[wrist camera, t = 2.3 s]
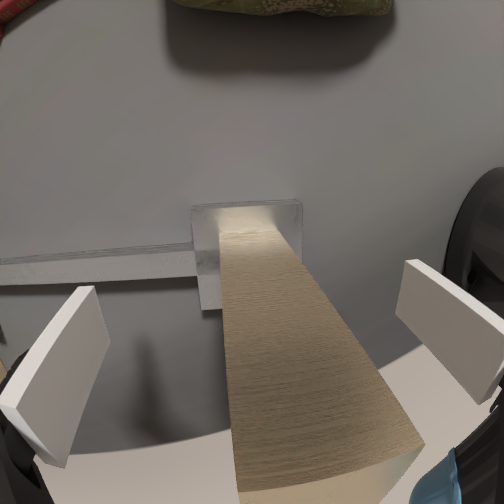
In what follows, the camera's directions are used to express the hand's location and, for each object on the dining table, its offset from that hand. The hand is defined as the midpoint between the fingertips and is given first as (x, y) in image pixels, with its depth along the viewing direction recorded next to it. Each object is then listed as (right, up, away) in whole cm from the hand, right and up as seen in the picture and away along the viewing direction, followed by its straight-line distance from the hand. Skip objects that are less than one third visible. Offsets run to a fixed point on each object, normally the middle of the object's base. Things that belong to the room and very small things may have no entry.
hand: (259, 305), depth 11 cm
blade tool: (-11, +1, +6) cm, 12 cm away
